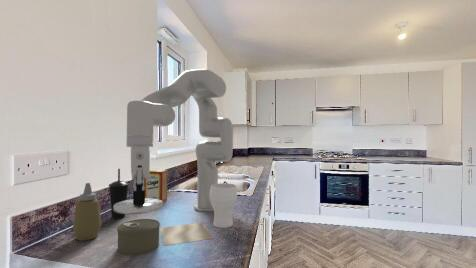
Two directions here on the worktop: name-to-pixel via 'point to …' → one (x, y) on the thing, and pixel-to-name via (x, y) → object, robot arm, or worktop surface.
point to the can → (138, 237)
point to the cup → (223, 203)
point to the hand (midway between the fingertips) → (139, 202)
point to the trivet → (184, 233)
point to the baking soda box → (156, 185)
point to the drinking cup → (118, 194)
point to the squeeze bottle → (87, 215)
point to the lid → (137, 206)
